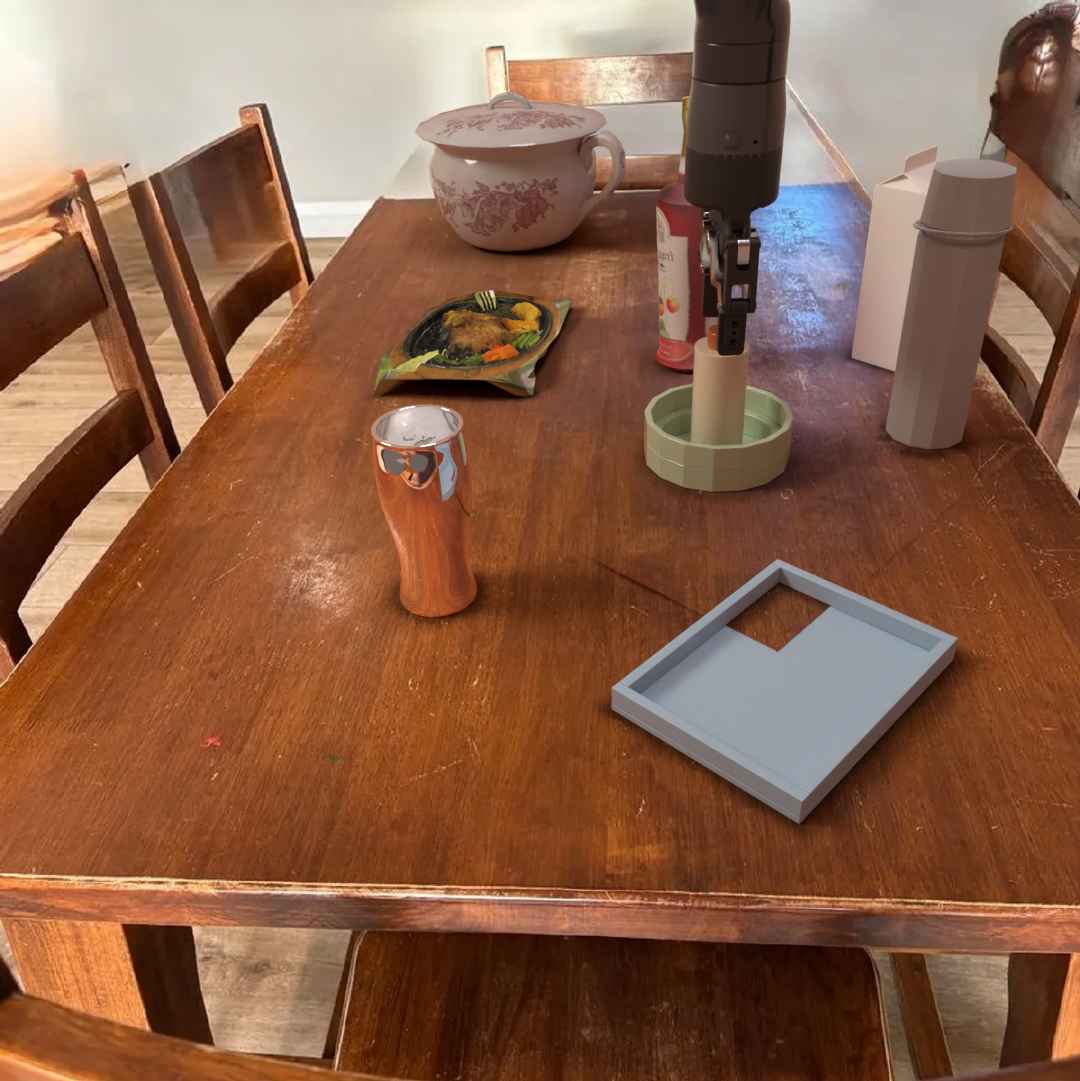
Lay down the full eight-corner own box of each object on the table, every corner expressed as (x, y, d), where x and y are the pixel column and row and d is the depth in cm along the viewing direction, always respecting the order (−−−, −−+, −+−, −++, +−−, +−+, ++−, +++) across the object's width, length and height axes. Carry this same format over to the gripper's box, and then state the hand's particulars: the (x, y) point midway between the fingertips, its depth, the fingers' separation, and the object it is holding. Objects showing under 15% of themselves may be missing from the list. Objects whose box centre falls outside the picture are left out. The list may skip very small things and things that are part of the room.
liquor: (728, 375, 110) (746, 101, 95) (664, 384, 109) (671, 108, 93) (705, 349, 116) (718, 87, 101) (644, 358, 115) (648, 94, 99)
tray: (775, 579, 79) (777, 558, 78) (953, 660, 71) (958, 637, 70) (611, 709, 68) (611, 687, 67) (799, 824, 59) (802, 801, 58)
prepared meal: (437, 275, 130) (574, 276, 127) (440, 301, 132) (575, 303, 129) (363, 374, 108) (526, 379, 105) (369, 403, 111) (529, 409, 107)
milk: (927, 356, 112) (967, 149, 100) (898, 374, 109) (935, 162, 96) (878, 342, 116) (911, 140, 104) (849, 358, 113) (879, 152, 100)
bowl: (700, 415, 103) (703, 370, 100) (814, 456, 95) (820, 408, 92) (616, 465, 95) (616, 417, 92) (731, 513, 87) (735, 463, 85)
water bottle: (973, 457, 93) (1035, 180, 79) (885, 454, 95) (930, 180, 81) (955, 412, 101) (1009, 151, 87) (874, 410, 102) (914, 152, 88)
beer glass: (382, 584, 81) (354, 417, 73) (461, 559, 84) (443, 394, 75) (413, 632, 76) (387, 458, 67) (497, 603, 78) (482, 432, 70)
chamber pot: (405, 228, 160) (388, 88, 149) (563, 202, 168) (559, 67, 157) (462, 282, 139) (448, 122, 127) (641, 249, 147) (642, 96, 135)
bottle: (710, 437, 98) (716, 314, 91) (751, 453, 95) (762, 327, 88) (679, 456, 95) (683, 331, 88) (721, 473, 92) (729, 345, 85)
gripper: (803, 159, 73) (781, 366, 82) (764, 117, 85) (749, 302, 94) (699, 164, 73) (689, 370, 82) (675, 121, 85) (668, 305, 94)
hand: (721, 334), depth 88 cm, fingers open, 8 cm apart
